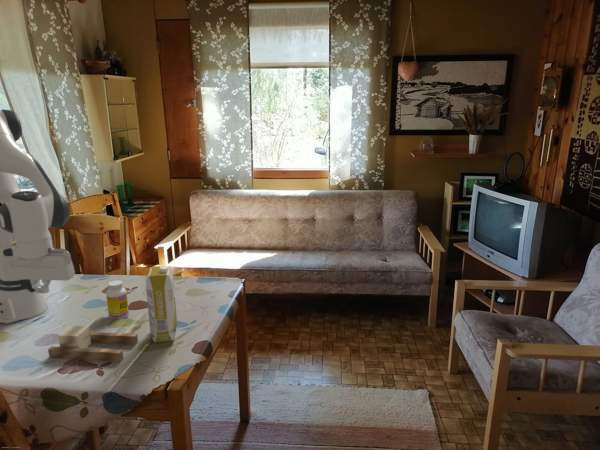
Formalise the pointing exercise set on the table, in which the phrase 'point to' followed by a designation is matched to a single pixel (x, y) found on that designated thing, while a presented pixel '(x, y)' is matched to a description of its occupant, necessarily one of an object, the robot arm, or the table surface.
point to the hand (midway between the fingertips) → (42, 292)
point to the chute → (96, 353)
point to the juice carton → (161, 304)
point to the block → (75, 337)
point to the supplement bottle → (117, 300)
